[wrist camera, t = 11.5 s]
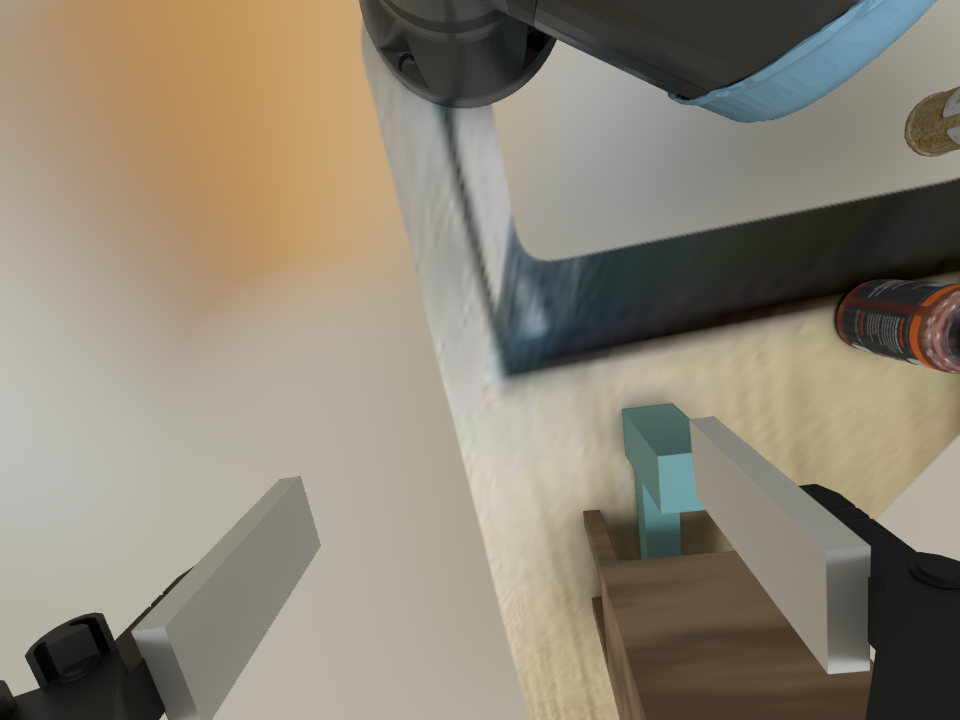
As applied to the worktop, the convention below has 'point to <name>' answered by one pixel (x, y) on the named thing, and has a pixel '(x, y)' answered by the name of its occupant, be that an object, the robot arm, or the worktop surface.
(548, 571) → the worktop surface
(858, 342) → the supplement bottle
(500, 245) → the worktop surface
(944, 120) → the sprinkles bottle
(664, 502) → the teal stepped block
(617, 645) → the cabinet
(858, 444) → the worktop surface
